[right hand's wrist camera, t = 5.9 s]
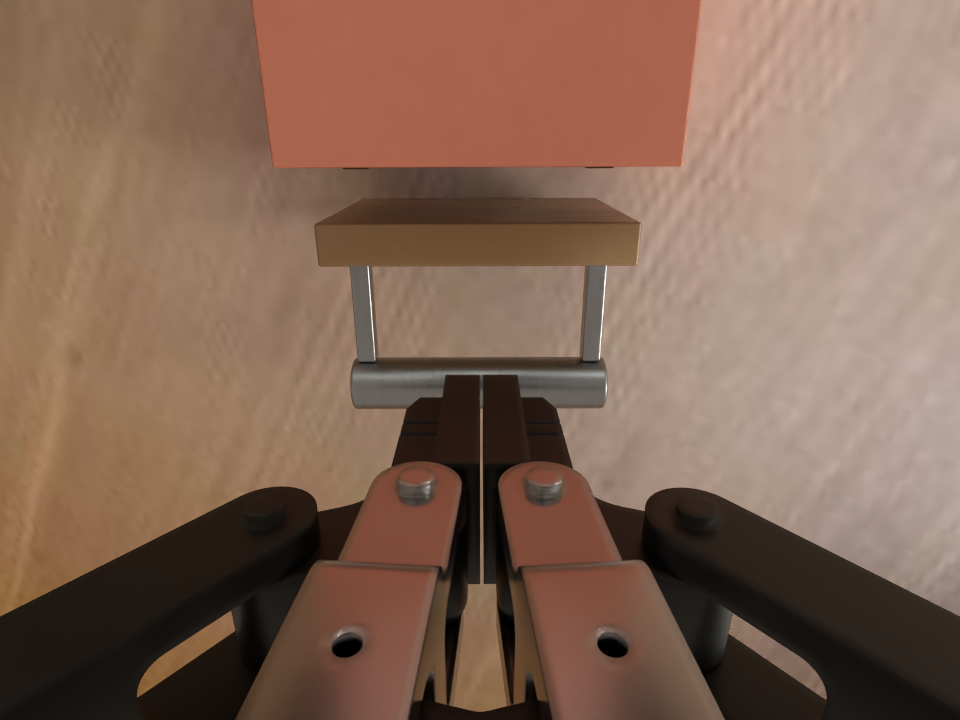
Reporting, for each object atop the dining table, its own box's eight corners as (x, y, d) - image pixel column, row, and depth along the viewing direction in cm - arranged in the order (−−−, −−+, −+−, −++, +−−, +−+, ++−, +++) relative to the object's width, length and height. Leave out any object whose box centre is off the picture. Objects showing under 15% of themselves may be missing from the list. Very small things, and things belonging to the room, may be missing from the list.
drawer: (585, 355, 24) (622, 432, 18) (374, 356, 24) (335, 433, 18) (628, -284, 17) (716, -537, 11) (325, -282, 17) (231, -533, 11)
